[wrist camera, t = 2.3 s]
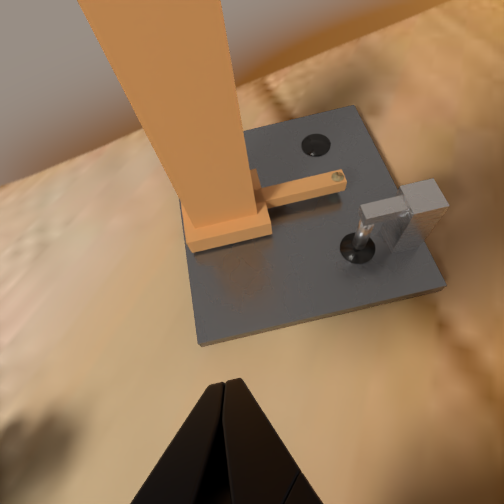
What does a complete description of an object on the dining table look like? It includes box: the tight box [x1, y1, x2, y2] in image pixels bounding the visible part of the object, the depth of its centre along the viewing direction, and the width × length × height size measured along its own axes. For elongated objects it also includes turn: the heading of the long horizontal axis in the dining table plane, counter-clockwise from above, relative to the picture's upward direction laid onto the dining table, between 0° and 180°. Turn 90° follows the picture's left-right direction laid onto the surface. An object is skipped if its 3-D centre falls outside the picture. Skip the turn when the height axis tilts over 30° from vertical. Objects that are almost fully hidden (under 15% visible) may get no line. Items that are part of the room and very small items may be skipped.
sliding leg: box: [77, 0, 347, 253], centre depth 18 cm, size 5×12×16 cm, turn 102°
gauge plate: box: [179, 105, 450, 347], centre depth 24 cm, size 18×16×6 cm
